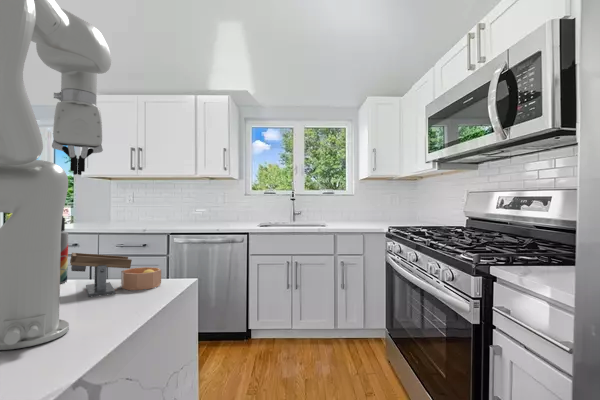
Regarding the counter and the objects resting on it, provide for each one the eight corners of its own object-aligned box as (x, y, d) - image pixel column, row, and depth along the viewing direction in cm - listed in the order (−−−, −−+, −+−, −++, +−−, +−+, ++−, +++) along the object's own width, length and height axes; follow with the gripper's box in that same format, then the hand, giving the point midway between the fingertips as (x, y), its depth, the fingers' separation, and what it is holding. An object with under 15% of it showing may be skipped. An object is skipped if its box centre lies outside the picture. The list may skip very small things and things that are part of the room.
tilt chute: (129, 274, 97) (131, 259, 97) (69, 271, 89) (72, 255, 89) (121, 266, 109) (123, 253, 109) (68, 263, 101) (71, 249, 102)
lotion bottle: (67, 283, 103) (68, 216, 104) (43, 286, 100) (45, 216, 100) (67, 280, 108) (68, 215, 108) (44, 282, 105) (45, 215, 105)
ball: (139, 280, 100) (151, 286, 101) (148, 267, 101) (160, 274, 103) (137, 277, 103) (148, 284, 105) (145, 265, 104) (157, 272, 106)
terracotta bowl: (164, 287, 100) (164, 271, 100) (124, 292, 94) (124, 275, 95) (156, 280, 109) (156, 266, 109) (118, 284, 103) (119, 269, 103)
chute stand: (115, 293, 92) (115, 265, 93) (88, 297, 89) (89, 267, 89) (109, 285, 102) (110, 259, 102) (85, 287, 99) (86, 261, 99)
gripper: (41, 91, 80) (39, 171, 80) (114, 102, 88) (113, 175, 88) (42, 99, 86) (40, 173, 86) (110, 109, 95) (109, 177, 94)
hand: (77, 174), depth 87 cm, fingers closed
